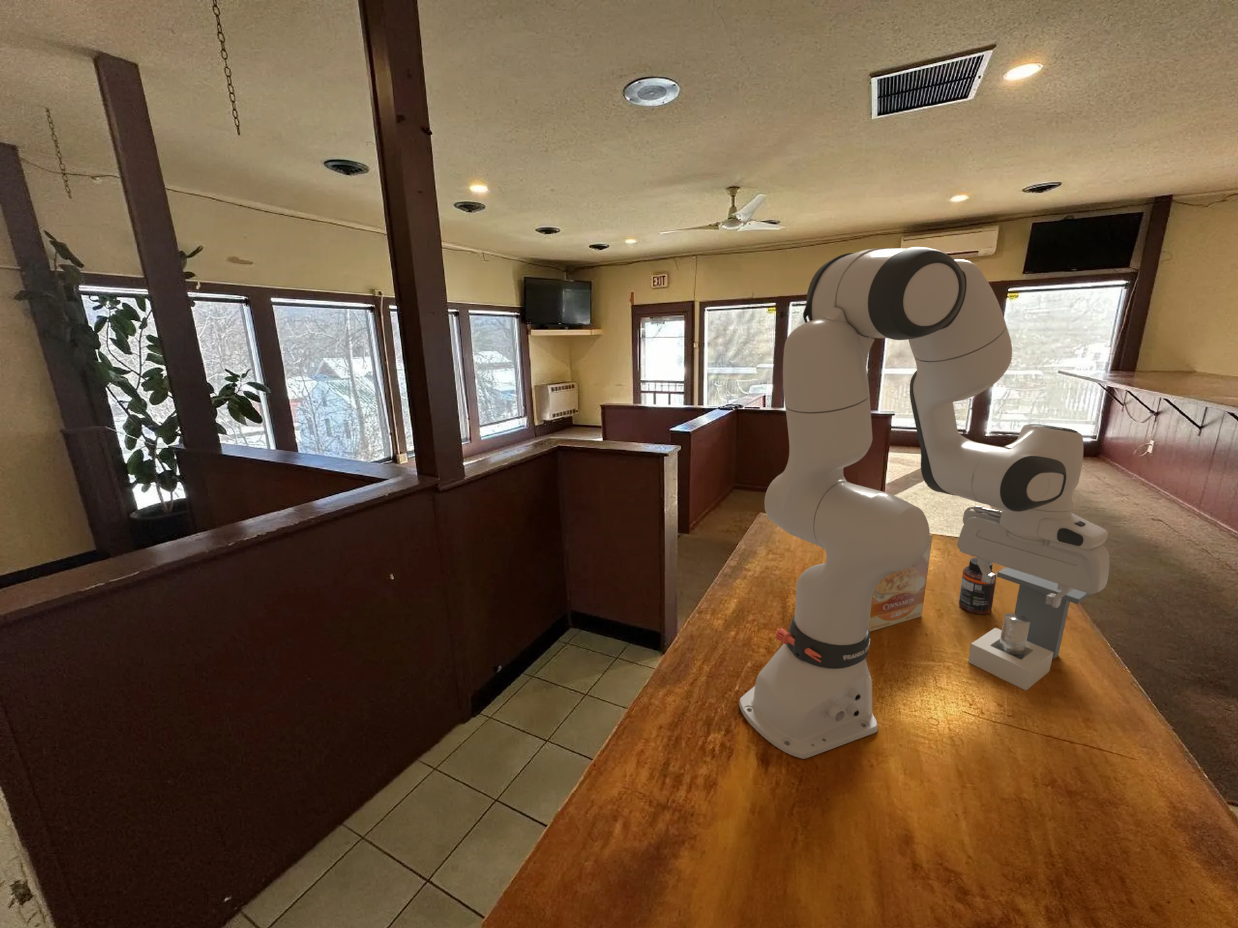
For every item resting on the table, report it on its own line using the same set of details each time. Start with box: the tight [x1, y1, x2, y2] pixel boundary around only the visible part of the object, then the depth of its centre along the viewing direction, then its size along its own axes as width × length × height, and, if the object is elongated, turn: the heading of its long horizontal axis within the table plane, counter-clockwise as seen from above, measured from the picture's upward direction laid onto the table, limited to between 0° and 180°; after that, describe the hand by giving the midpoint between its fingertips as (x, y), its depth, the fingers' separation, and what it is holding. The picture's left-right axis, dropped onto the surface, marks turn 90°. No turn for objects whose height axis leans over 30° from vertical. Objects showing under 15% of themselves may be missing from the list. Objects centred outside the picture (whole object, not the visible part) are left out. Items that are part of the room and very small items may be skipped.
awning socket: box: [967, 567, 1092, 691], centre depth 89 cm, size 16×12×15 cm
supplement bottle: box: [958, 557, 997, 615], centre depth 106 cm, size 6×6×11 cm
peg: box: [998, 612, 1030, 659], centre depth 88 cm, size 4×4×10 cm
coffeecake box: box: [868, 533, 934, 633], centre depth 104 cm, size 15×7×20 cm, turn 108°
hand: (1018, 593), depth 85 cm, fingers open, 8 cm apart
